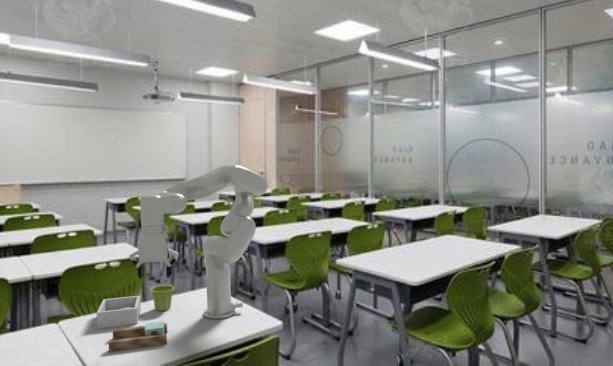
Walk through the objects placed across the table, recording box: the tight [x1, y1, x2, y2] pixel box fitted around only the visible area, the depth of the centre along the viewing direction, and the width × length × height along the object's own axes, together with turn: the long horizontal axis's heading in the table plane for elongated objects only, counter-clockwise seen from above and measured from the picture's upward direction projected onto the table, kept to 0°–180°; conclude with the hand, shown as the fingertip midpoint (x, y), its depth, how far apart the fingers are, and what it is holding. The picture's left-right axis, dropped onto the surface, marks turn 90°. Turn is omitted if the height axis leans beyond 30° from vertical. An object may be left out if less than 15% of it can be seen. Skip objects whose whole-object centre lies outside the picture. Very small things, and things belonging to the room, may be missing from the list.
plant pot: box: [150, 284, 175, 312], centre depth 178 cm, size 9×9×9 cm
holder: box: [96, 295, 142, 329], centre depth 168 cm, size 14×16×6 cm
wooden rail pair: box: [108, 322, 168, 353], centre depth 147 cm, size 18×12×4 cm, turn 107°
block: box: [144, 320, 165, 336], centre depth 148 cm, size 6×6×5 cm
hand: (155, 277), depth 151 cm, fingers open, 9 cm apart
